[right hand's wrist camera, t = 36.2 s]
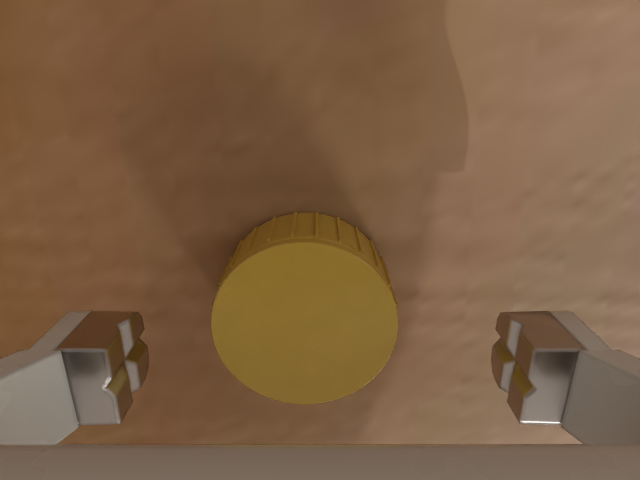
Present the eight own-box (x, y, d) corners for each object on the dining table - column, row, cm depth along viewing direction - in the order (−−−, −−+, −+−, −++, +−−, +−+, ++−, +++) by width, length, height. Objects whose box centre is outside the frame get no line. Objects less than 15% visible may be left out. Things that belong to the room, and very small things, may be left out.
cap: (236, 358, 14) (221, 411, 12) (215, 214, 12) (193, 245, 10) (387, 351, 14) (399, 402, 12) (386, 204, 12) (401, 234, 10)
